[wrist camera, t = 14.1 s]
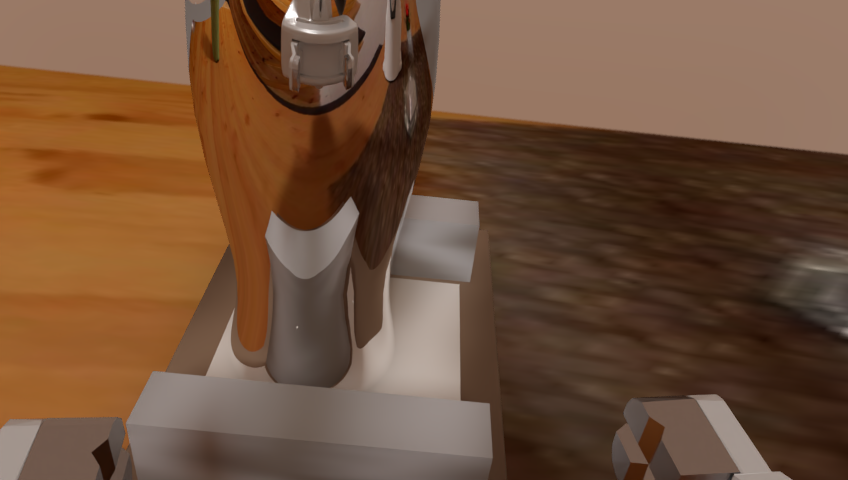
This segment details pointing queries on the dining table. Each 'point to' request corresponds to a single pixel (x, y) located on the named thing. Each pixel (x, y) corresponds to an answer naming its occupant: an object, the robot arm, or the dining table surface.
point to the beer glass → (313, 171)
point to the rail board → (337, 408)
